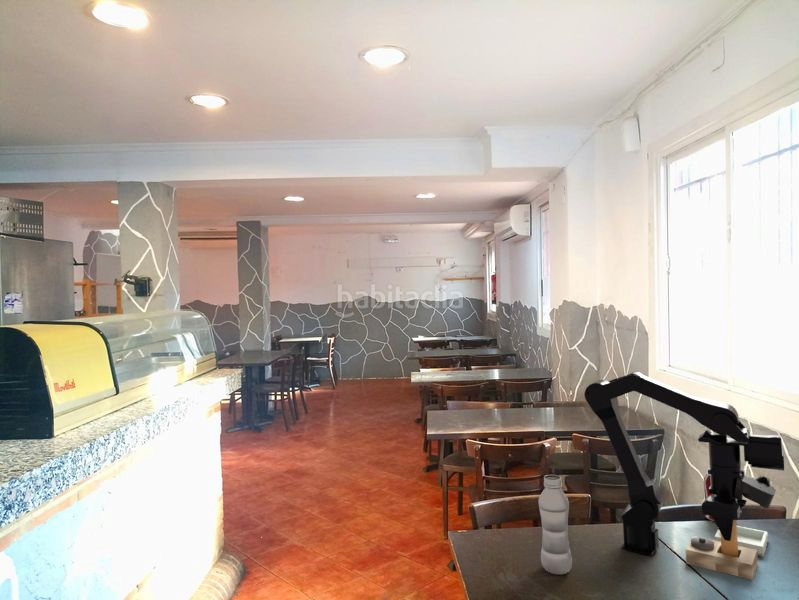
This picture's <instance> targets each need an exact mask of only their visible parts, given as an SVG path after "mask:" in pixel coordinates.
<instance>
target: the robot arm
mask: <svg viewBox="0 0 799 600" xmlns="http://www.w3.org/2000/svg"><path fill="white" fill-rule="evenodd" d="M632 392H636V393H638V394H641V395H643V396H645V397H646V398H647V397H648V398H649V399H652V400H654V401H657V402H659V403H662V404H663V405H666V406H667V407H671V408H673V409H675V410H677V411H681V413H683V414H684V413H685V414H686V415H688V416H690V417H691V418H693V419H694V420H695V421H696V422H698V423H699V424H700V425H702V426H704V427H706V429H705V430H704V432H703V433H702V434H700V435H699V436H698V439H697V440H698V442H699V443H708V456H709V457H708V459H709V467H707V471H708V474H710V482H711V486H710V488H709V493H710V494H716V495H715V496H708V497H707V498H706V499H705V498H704V500H703V502H702V503H701V512H702V514H704V516H706V515H710V516H712V518H713V519H714V521H715V522H714V523H715V525H716V526H717V528H718V529H719V530H720V532H721V534H722V536H723V538H724V540H727V541H730V540H731V535H732V529H733V523H734V520H736V521H738V520H739V519H740V516H741V515H742V513H743V510H741V509H742V508H743V507H744V506H746V504H747V502H748V501H747V500H750V501H751V502H753V503H756V504H758V505H759V506H760V507H762V508H765V509H770V506H771V503H772V501H773V499H774V496H775V494H776V492H777V490H776V489H775V486H771V482H770V477H767V476H765V475H763V474H760V476H758V477H757V478H754V477H749V476H746V473H745V469H744V468H743V467H742V463H741V462H742V461H741V447H743V456H744V457H743V458H744V459H743V460H744V462H747V465H750V468H756V469H766V470H775V471H785V459H784V457H785V456H784V451H783V447H782V437H781V435H778V434H777V435H775V434H772V435H771V434H770V435H766V434H765V435H764V434H754V433H753V434H752V433H750V430H748V428H747V427H745V425H744V424H743V423H742V422H741V420H739V412H738V411H737V409H736V408H734V406H733V405H731V404H728V403H727V402H722V401H718V400H714V399H710V398H705V397H699V396H694V395H692V394H690V393H687V392H685V391H682V390H680V389H677V388H675V387H672V386H670V385H668V384H665V383H663V382H660V381H658V380H656V379H653V378H651V377H650V376H649V377H648V376H646V375H644V374H643V373H641V372H639V371H632V372H630V373H629V374H626V375H623V376H620V377H619V376H618V377H617V378H614V379H613V378H612V379H611V380H606V379H598V380H596V381H594V382H592V383H591V384H589V385H587V387H586V389H585V391H584V395H583V396H584V400H585V401H586V403H587V404H588V405H589V408H590V409H591V410H592V412H593V414H595V416H596V417H597V418H598V419H599V420H600V422H601V423H602V424H603V427H604V430H605V432H606V434H607V437H608V439H609V441H610V444H611V446H612V448H613V451H614V454H615V455H616V457H617V461H618V463H619V465H620V467H621V470H622V472H623V474H624V477H625V479H626V484H627V492H628V498H629V499H628V500H629V503H628V504H627V506H626V507H625V510H623V513H622V515H621V520H622V530H623V533H622V535H623V544H622V545H621V549H622V550H626V551H630V552H634V553H638V554H641V555H646V556H648V557H649V556H650V557H651V556H653V554H654V553H655V551H657V549H658V548H659V543H660V542H659V529H658V528H656V522H655V519H656V518H657V517H658V515H660V514H659V513H660V512H661V509H662V507H663V504H664V499H663V498H664V496H665V493H664V492H663V491H662V490H661V488H660V485H659V481H658V478H657V477H655V478H652V479H651V478H650V477H649V476H648V475H647V474H646V472H645V470H644V468H643V466H642V463H641V461H640V459H639V457H638V454H637V452H636V449H635V447H634V445H633V443H632V440H631V438H630V436H629V434H628V433H629V432H628V431H627V429H626V426H625V425H624V422H623V420H622V417H621V414H620V409H619V408H620V407H619V399H618V398H619V397H621V396H623V395H626V394H629V393H632ZM710 430H711V431H712V432H711V431H710ZM743 497H744V498H745V499H744V498H743ZM718 529H717V530H718Z"/></svg>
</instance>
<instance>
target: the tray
mask: <svg viewBox="0 0 799 600" xmlns="http://www.w3.org/2000/svg"><path fill="white" fill-rule="evenodd" d="M714 541H719V542H721V532H720V530H719V529H717V530H716V533H715V535H714ZM737 542H738V546H741V547H746V548H750V549H755V550H757V557H764V556H765V554H764V553H766V551H767V547H766V546H768V544H767V542H768V543H769V536H768V531H765V530H759V529H754V528H750V527H744V526H741V525H740V526H739V525H737Z"/></svg>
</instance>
